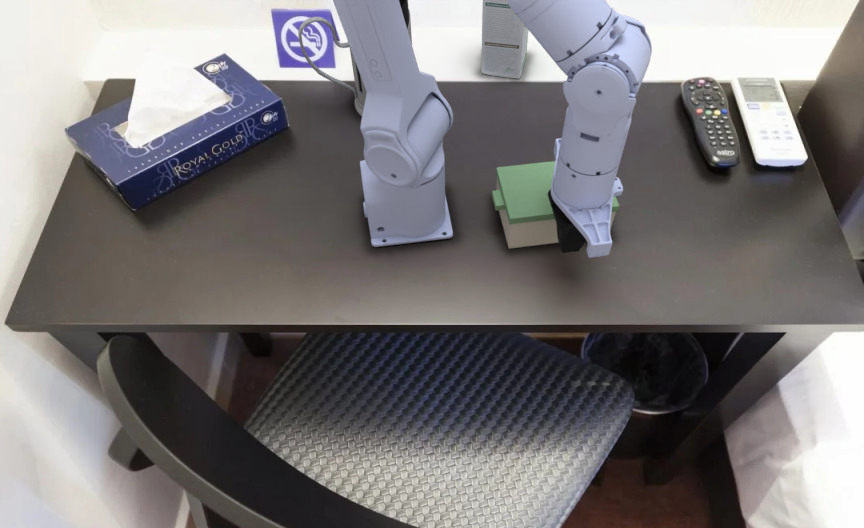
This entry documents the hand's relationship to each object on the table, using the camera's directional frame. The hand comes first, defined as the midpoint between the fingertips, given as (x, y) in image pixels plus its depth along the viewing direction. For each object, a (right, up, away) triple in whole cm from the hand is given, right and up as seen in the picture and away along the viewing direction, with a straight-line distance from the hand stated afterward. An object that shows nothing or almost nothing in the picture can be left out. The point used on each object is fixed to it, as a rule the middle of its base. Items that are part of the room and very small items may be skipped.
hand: (569, 247), depth 73 cm
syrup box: (-6, +28, +23) cm, 37 cm away
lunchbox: (-1, +6, +4) cm, 7 cm away
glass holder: (-25, +21, +17) cm, 37 cm away
